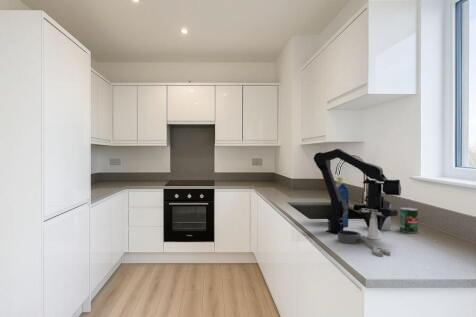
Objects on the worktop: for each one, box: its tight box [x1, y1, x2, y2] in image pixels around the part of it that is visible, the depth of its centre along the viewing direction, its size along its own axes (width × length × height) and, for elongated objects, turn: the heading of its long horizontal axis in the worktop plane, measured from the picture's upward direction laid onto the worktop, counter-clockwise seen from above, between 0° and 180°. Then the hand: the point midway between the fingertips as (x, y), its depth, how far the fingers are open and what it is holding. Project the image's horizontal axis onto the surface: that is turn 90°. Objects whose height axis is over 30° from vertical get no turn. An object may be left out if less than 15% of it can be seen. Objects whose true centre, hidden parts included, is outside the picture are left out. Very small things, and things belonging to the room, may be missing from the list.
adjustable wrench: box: [360, 235, 392, 258], centre depth 125 cm, size 25×6×2 cm, turn 173°
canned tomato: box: [399, 206, 419, 234], centre depth 152 cm, size 8×8×11 cm
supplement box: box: [371, 204, 392, 231], centre depth 157 cm, size 7×7×13 cm
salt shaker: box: [367, 213, 382, 241], centre depth 139 cm, size 5×5×11 cm
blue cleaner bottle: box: [335, 176, 349, 228], centre depth 166 cm, size 6×12×25 cm, turn 175°
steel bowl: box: [337, 229, 362, 245], centre depth 133 cm, size 9×9×4 cm
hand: (374, 228), depth 139 cm, fingers open, 5 cm apart
